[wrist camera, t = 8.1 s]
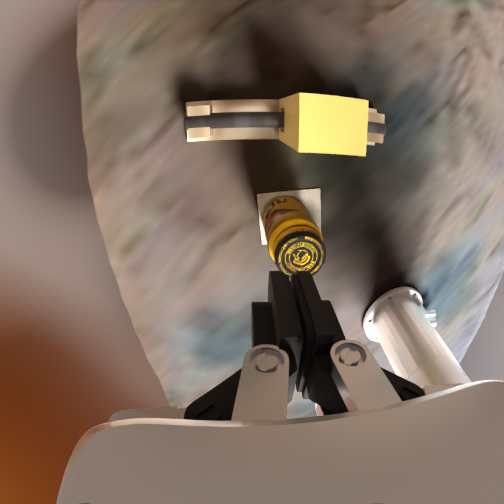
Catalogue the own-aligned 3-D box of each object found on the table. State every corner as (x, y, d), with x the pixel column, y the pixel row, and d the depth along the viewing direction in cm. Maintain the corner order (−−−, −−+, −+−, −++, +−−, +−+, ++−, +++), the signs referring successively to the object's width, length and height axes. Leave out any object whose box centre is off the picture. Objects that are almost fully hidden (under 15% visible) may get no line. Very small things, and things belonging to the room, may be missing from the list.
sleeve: (328, 102, 30) (368, 100, 20) (327, 141, 32) (365, 156, 22) (279, 99, 30) (299, 92, 20) (279, 139, 32) (298, 152, 22)
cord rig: (373, 109, 32) (391, 110, 27) (372, 144, 34) (389, 150, 30) (186, 102, 31) (179, 101, 26) (188, 141, 33) (180, 145, 29)
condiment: (256, 193, 37) (264, 230, 26) (319, 188, 37) (352, 220, 26) (261, 244, 40) (270, 294, 30) (320, 237, 40) (348, 284, 30)
